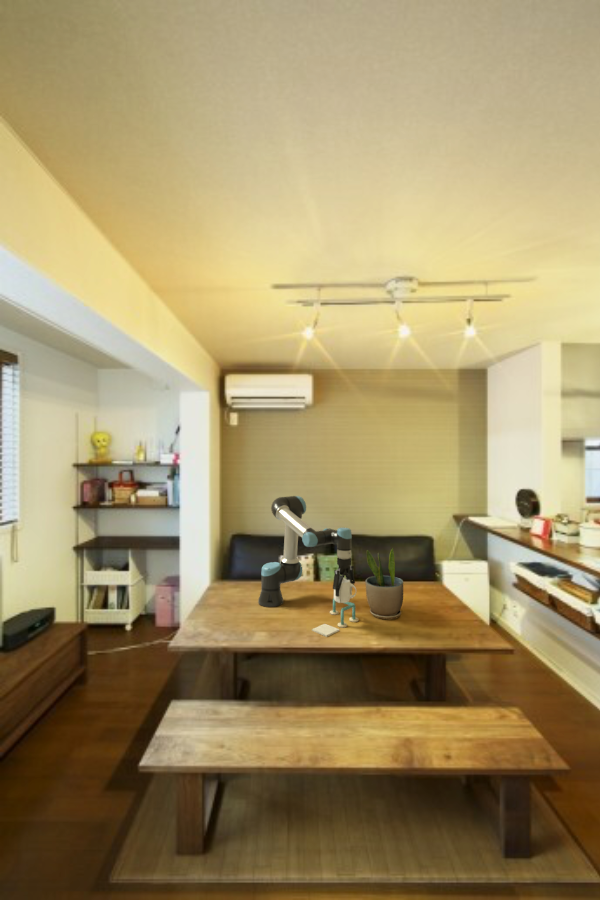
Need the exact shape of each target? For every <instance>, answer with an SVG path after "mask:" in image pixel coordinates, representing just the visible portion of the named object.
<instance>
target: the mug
mask: <svg viewBox="0 0 600 900" xmlns="http://www.w3.org/2000/svg"><path fill="white" fill-rule="evenodd" d="M350 587H352V588H354V590H355V592H354V594H352V595H350ZM340 590H341V603H340V604H345V603H346V602H350V600H351V599H354V597H356V595H357V587H356V586H355V584H354V585H353V584H352V583H350V580H347V579H346V577H344V578H343V580H342V583H341V587H340ZM333 599H334V600H335V601H336V590H335V589H333Z"/></svg>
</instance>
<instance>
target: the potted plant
mask: <svg viewBox="0 0 600 900" xmlns="http://www.w3.org/2000/svg"><path fill="white" fill-rule="evenodd" d="M388 557H389V560H388V572H389V575H384V571H383V565H382V562H381V558H380V554H379V553H377V558H378V559H377V560H378V562H379V563H378V564H377V562H376V561H375V558H374V557H373V555H372V554H371V552H370V551H369V550H368V549H367V550H366V561H367V565H368V567H369V569H370V570H371V572H372V573H373V575H374V576H373V575H372V576H369V577H367V578H366V579H365V593H366V594H365V595H366V600H367V604H368V606H369V608H370V609H369V613H370V614H371V615H372V616H373V617H375V618H377V619H382V620H395V619H397V618H399V617H400V616H401V615H402V610H401V608H402V606H403V602H404V601H403V600H404V580H403V579H402V578H399V577H396V576H395V575H396V573H395V572H396V571H395V570H396V569H395V568H396V567H395V566H396V563H395V553H394V548H392V549H390V553H389V556H388Z"/></svg>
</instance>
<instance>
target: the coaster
mask: <svg viewBox="0 0 600 900" xmlns="http://www.w3.org/2000/svg"><path fill="white" fill-rule="evenodd" d="M311 632H314V633H316V634H319V635H322V636H323V637H325V638H328V637H329V636H332V635H334V634H336V633H338V632H340V628H338V627H335V626H332V625H329V624H326V623H323V624H320V625H318V626H316V627H314V628H312V629H311Z"/></svg>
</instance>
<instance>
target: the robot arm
mask: <svg viewBox="0 0 600 900" xmlns="http://www.w3.org/2000/svg"><path fill="white" fill-rule="evenodd" d="M270 509H271V513H272V515H273V517H274V518H276V519H277V520H278V521H282V522H283V523H284V543H283V557H281V559H280V562H277V561H274V562H272V561H271V562H267V563H265V564H263V566H262V567H261V574H260V575H261V578H260V579H261V587H260V589H261V590H260V594H259V597H258V599H257V600H258V602H257V603H258V605H259V606H261V607H266V608H274V607H278V606H281V605H283V604H284V598H283V597H284V596H283V594H282V590H281V584H286V583H290V582H295V581H297V580H299V579H301V578H302V577H301V576H302V574H303V566H302V563H301V562H300V560H299V558H298V547H299V546H298V541H299V537H301V539H302V540H301V541H302V543H303V545H304V546H305V547H306V548H309V547H310V548H314V547H318V546H324V545H331V544H333V545H336V546H337V547H336V556H337V557H336V559H337V560H336V562H337V563H336V564H337V566H338V568H337V569H334V572H333V573H334V577H333V582H332V589H333V590H334V589H335V590H336V603H338V604H342V603H341V590H340V587H341V583H342V580H343V578H346V579H347V580H350V583H352V584H353V585H354V586H355V583H356V580H355V573H354V567H355V566H354V565H352V558H351V557H352V539H353V538H352V537H353V536H352V535H353V534H352V529H351V528H348V527H338V528H337V529H333V528H327V527H326V528H324V529H323V530H315V529H313V528H312V526H310V525H309V524H307V522H305V521H304V520H303V519H302V517H303V515H304V514H305V513H306V511H307V503H306V502H305V499H304V498H303V497H302V496H299V495H291V496H290V495H289V496H279V497H277V498H275V499H274V500H273V502H272V504H271V508H270ZM350 595H353V587H350Z"/></svg>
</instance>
